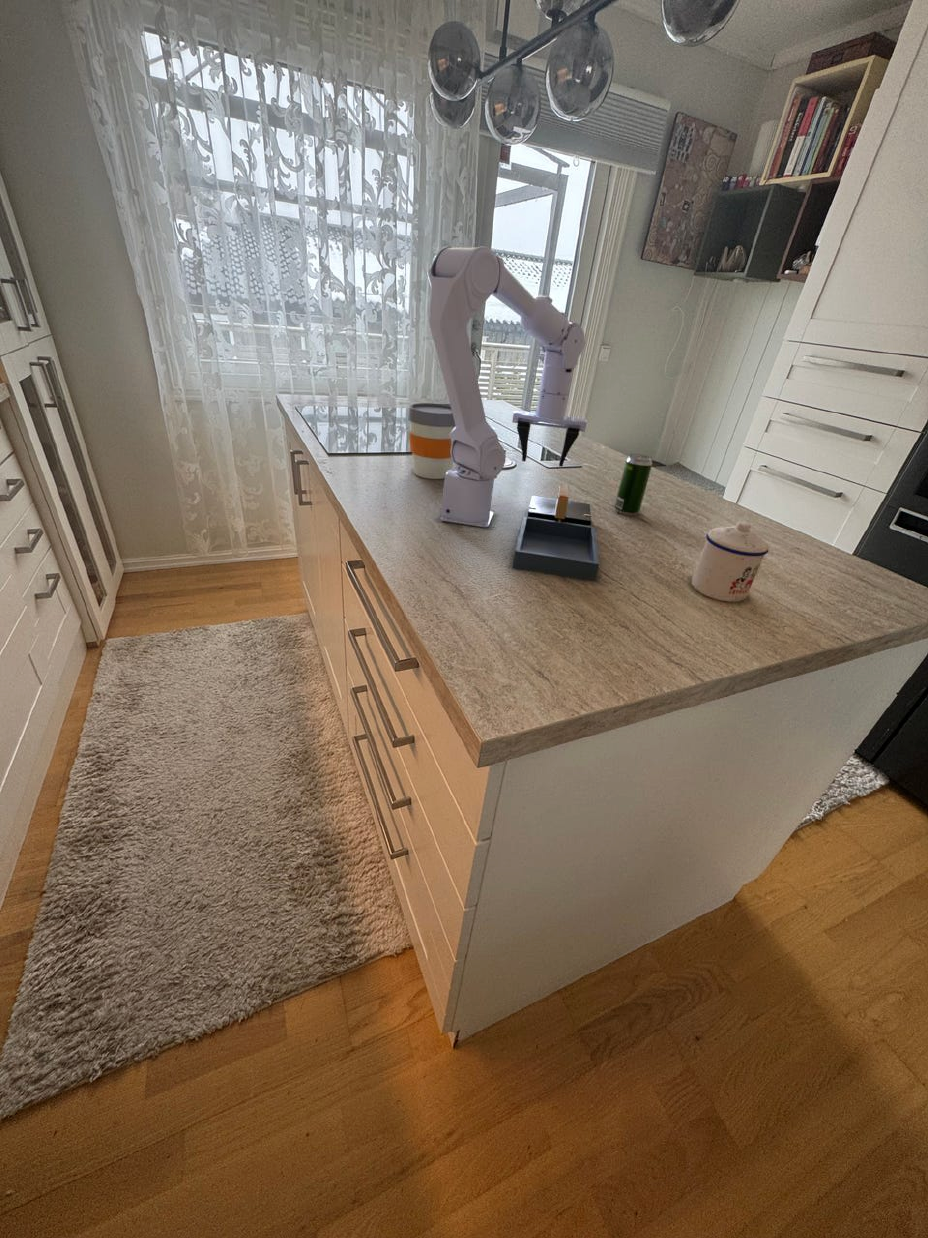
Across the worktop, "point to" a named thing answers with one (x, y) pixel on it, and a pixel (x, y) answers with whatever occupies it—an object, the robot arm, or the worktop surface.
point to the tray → (557, 548)
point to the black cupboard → (547, 507)
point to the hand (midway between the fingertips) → (542, 462)
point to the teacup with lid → (729, 562)
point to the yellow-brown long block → (562, 502)
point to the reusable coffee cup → (431, 439)
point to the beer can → (633, 484)
